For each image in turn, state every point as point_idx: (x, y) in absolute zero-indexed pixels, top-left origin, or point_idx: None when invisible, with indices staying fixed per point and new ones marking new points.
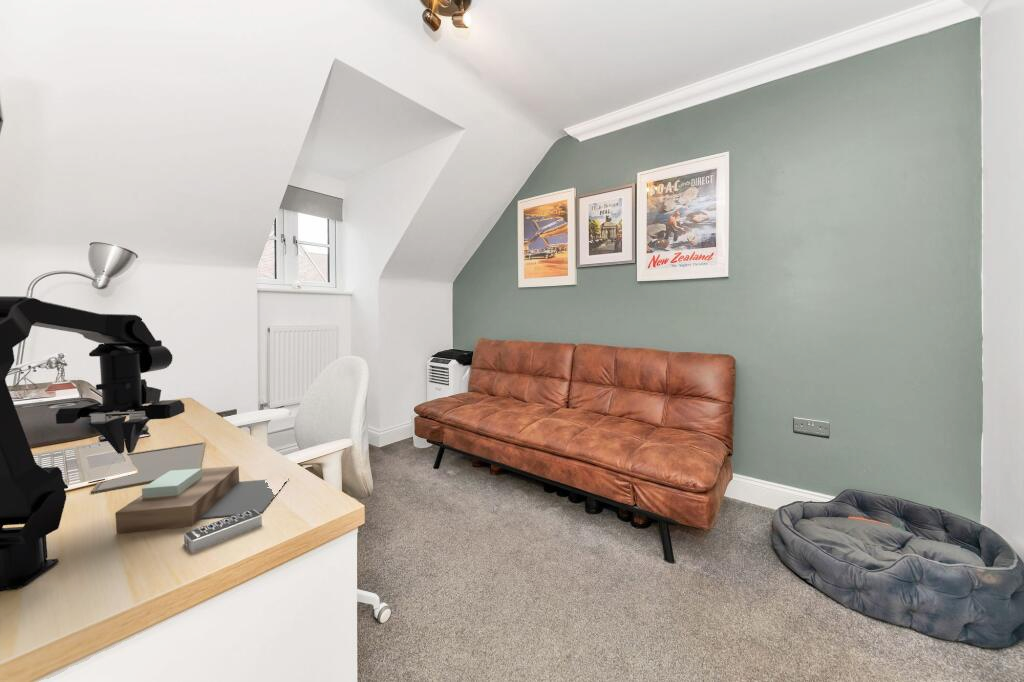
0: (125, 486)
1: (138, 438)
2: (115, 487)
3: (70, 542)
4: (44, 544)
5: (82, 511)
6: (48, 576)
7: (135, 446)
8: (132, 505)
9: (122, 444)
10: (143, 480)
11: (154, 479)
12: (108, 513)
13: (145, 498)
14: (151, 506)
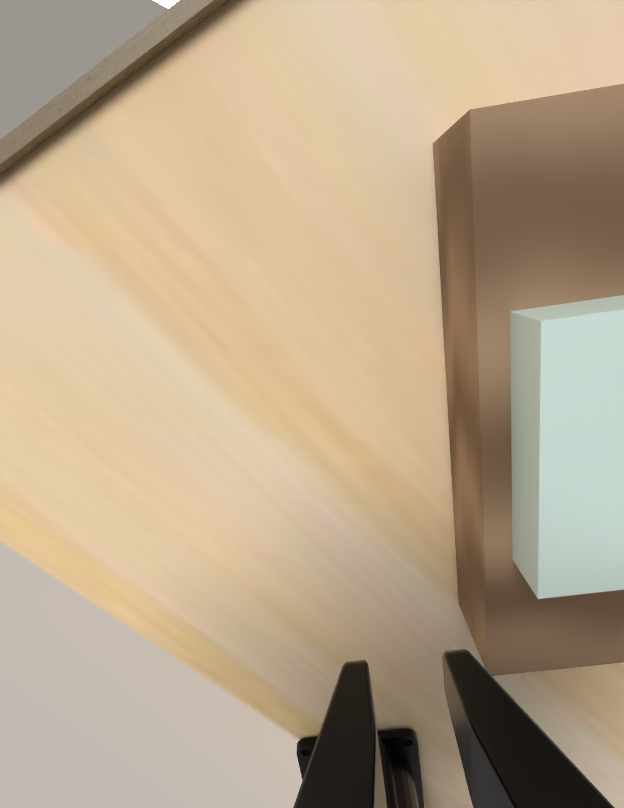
0: (67, 119)
1: (602, 801)
2: (26, 143)
3: (342, 638)
4: (396, 804)
5: (141, 422)
6: (442, 770)
7: (503, 690)
8: (517, 624)
9: (381, 774)
10: (98, 10)
11: (176, 11)
12: (283, 450)
13: None
14: (613, 637)
